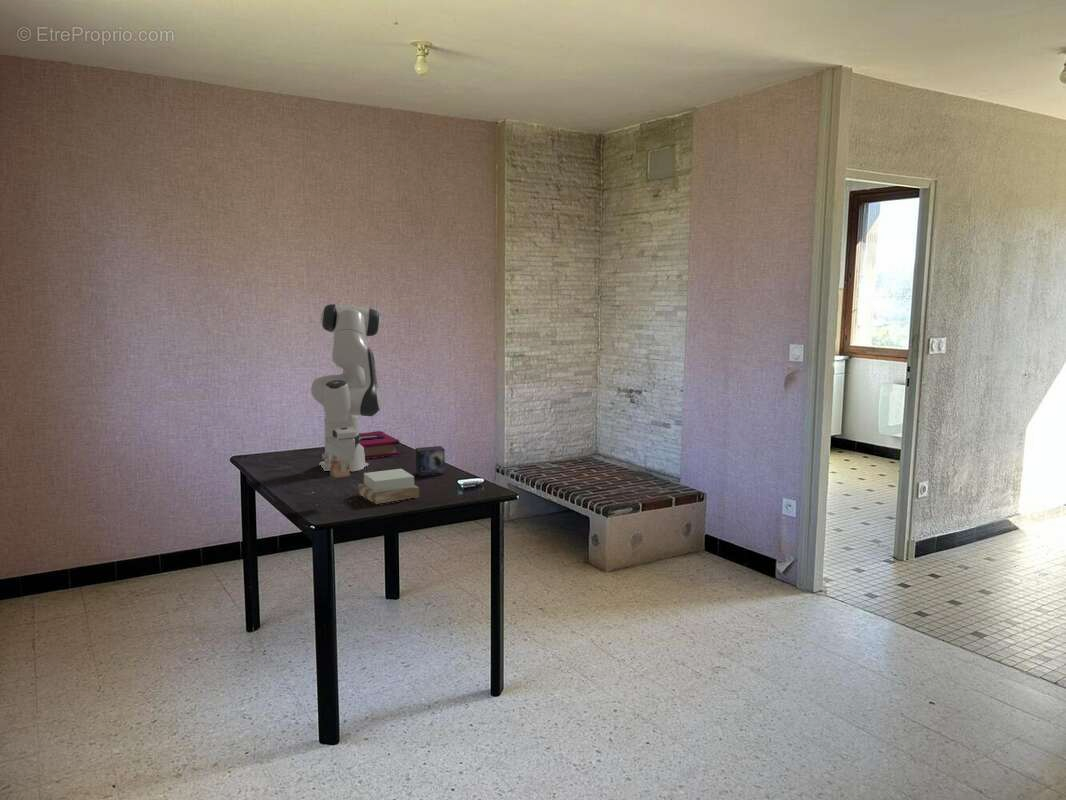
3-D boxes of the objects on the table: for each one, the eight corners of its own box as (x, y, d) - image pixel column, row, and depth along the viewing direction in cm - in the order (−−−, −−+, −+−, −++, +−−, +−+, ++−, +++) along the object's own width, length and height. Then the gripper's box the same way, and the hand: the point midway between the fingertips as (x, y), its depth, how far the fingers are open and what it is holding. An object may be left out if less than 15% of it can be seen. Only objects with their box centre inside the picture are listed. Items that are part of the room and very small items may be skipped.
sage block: (364, 484, 273) (363, 473, 273) (401, 479, 279) (401, 468, 279) (375, 492, 261) (374, 481, 260) (414, 487, 267) (414, 476, 267)
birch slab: (358, 497, 273) (358, 484, 272) (400, 490, 282) (399, 478, 281) (376, 507, 260) (376, 494, 259) (419, 499, 269) (419, 487, 268)
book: (354, 461, 329) (353, 444, 328) (337, 450, 353) (336, 434, 352) (401, 456, 339) (400, 439, 338) (381, 445, 363) (380, 429, 362)
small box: (419, 477, 298) (418, 450, 297) (415, 473, 304) (414, 447, 303) (445, 474, 302) (445, 448, 301) (441, 471, 308) (440, 445, 307)
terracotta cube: (330, 474, 261) (329, 460, 260) (344, 472, 263) (344, 458, 263) (335, 477, 257) (334, 463, 256) (349, 475, 259) (349, 461, 259)
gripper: (319, 425, 264) (320, 464, 267) (339, 435, 248) (341, 476, 250) (336, 423, 268) (338, 461, 270) (358, 432, 251) (359, 473, 253)
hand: (339, 469), depth 260 cm, fingers closed on terracotta cube, 5 cm apart
